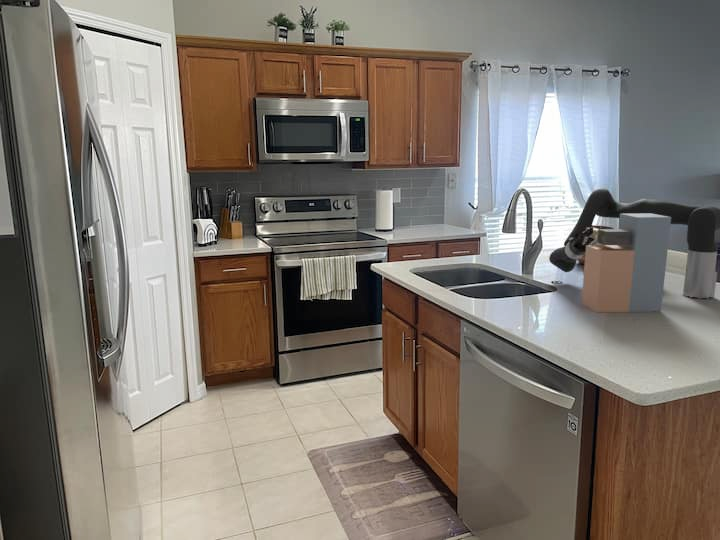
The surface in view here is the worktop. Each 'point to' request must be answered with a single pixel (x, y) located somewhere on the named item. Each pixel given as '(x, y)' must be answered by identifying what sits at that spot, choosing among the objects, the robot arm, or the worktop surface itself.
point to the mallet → (611, 236)
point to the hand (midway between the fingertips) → (597, 229)
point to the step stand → (628, 267)
